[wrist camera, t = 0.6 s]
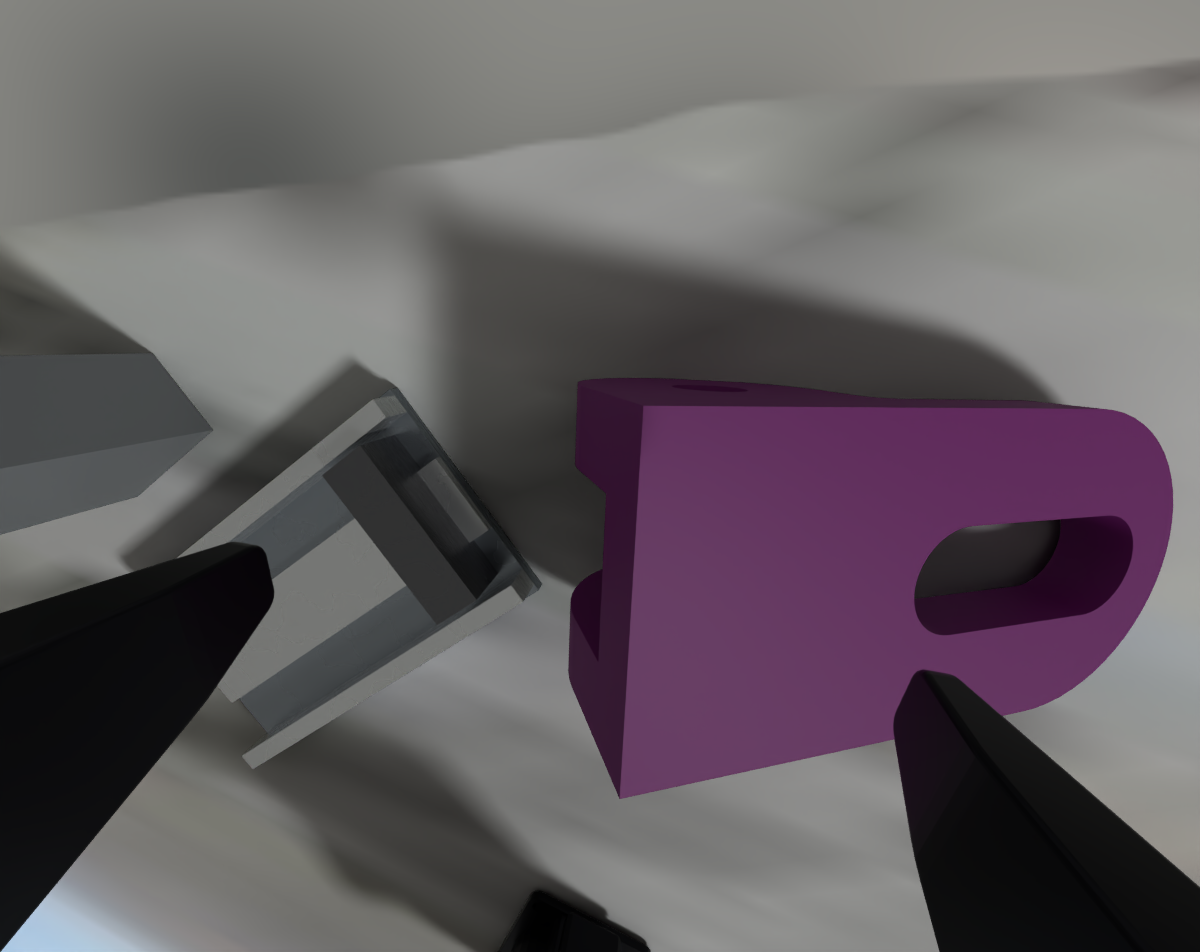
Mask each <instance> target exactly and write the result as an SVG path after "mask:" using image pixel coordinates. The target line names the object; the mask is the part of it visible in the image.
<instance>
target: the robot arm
mask: <svg viewBox="0 0 1200 952" xmlns="http://www.w3.org/2000/svg"><path fill="white" fill-rule="evenodd" d="M273 599H274V586H273V581H272V577H271V572H270V568H269V563H268V559H267V555H266V552H265V551H264V550H263V548H262V547H260V546H258V545H253V544H248V543H242V542H228V543H225V544H221V545H218V546H215V547H212V548H208V549H205V550H202V551H199V552H196V553H192V554H189V555H186V556H183V557H180V558H176V559H173V560H170V561H167V562H163V563H160V564H157V565H154V566H151V567H147V568H144V569H141V570H138V571H134V572H131V573H128V574H125V575H122V576H118V577H115V578H112V579H109V580H106V581H102V582H99V583H96V584H93V585H89V586H86V587H83V588H80V589H77V590H73V591H70V592H67V593H64V594H60V595H57V596H54V597H51V598H48V599H44V600H41V601H38V602H35V603H32V604H28V605H25V606H22V607H19V608H15V609H12V610H9V611H6V612H3V613H0V952H1V951H2V949H3V948H4V947H5V946H6V945H7V943H8V942H9V941H10V940H11V939H12V937H13V936H14V935H15V934H16V932H17V931H18V930H19V929H20V928H21V926H22V925H23V924H24V923H25V922H26V920H27V919H28V918H29V917H30V915H31V914H32V913H33V912H34V911H35V909H36V908H37V907H38V906H39V904H40V903H41V902H42V901H43V900H44V898H45V897H46V896H47V895H48V894H49V892H50V891H51V890H52V889H53V887H54V886H55V885H56V884H57V883H58V881H59V880H60V879H61V878H62V877H63V875H64V874H65V873H66V872H67V870H68V869H69V868H70V867H71V866H72V864H73V863H74V862H75V861H76V859H77V858H78V857H79V856H80V855H81V853H82V852H83V851H84V850H85V849H86V847H87V846H88V845H89V844H90V842H91V841H92V840H93V839H94V838H95V836H96V835H97V834H98V833H99V831H100V830H101V829H102V828H103V827H104V825H105V824H106V823H107V822H108V821H109V819H110V818H111V817H112V816H113V814H114V813H115V812H116V811H117V810H118V808H119V807H120V806H121V805H122V804H123V802H124V801H125V800H126V799H127V797H128V796H129V795H130V794H131V793H132V791H133V790H134V789H135V788H136V786H137V785H138V784H139V783H140V782H141V780H142V779H143V778H144V777H145V776H146V774H147V773H148V772H149V771H150V769H151V768H152V767H153V766H154V765H155V763H156V762H157V761H158V760H159V759H160V757H161V756H162V755H163V754H164V752H165V751H166V750H167V749H168V748H169V746H170V745H171V744H172V743H173V741H174V740H175V739H176V738H177V737H178V735H179V734H180V733H181V732H182V731H183V729H184V728H185V727H186V726H187V724H188V723H189V722H190V721H191V720H192V718H193V717H194V716H195V715H196V713H197V712H198V711H199V710H200V708H201V707H202V706H203V704H204V703H205V702H206V701H207V699H208V698H209V696H210V695H211V694H212V692H213V691H214V689H215V688H216V687H217V685H218V684H219V682H220V681H221V679H222V678H223V677H224V675H225V674H226V672H227V671H228V669H229V668H230V666H231V665H232V663H233V662H234V660H235V659H236V657H237V656H238V655H239V653H240V652H241V650H242V649H243V647H244V646H245V644H246V643H247V641H248V640H249V638H250V637H251V636H252V634H253V633H254V631H255V630H256V628H257V627H258V625H259V624H260V622H261V621H262V619H263V618H264V616H265V615H266V614H267V612H268V611H269V609H270V607H271V605H272V603H273ZM893 732H894V739H895V745H896V751H897V757H898V763H899V769H900V775H901V782H902V788H903V794H904V800H905V806H906V812H907V818H908V824H909V830H910V836H911V842H912V847H913V852H914V857H915V861H916V866H917V870H918V874H919V878H920V882H921V885H922V889H923V893H924V896H925V900H926V904H927V908H928V911H929V915H930V919H931V922H932V926H933V930H934V933H935V937H936V941H937V944H938V948H939V952H1200V887H1199V886H1198V885H1197V884H1196V883H1195V882H1193V881H1192V880H1191V879H1190V878H1189V877H1188V876H1186V875H1185V874H1184V873H1183V872H1182V871H1181V870H1179V869H1178V868H1177V867H1176V866H1175V865H1174V864H1173V863H1171V862H1170V861H1169V860H1168V859H1167V858H1166V857H1164V856H1163V855H1162V854H1161V853H1160V852H1159V851H1158V850H1156V849H1155V848H1154V847H1153V846H1152V845H1151V844H1149V843H1148V842H1147V841H1146V840H1145V839H1144V838H1143V837H1141V836H1140V835H1139V834H1138V833H1137V832H1136V831H1134V830H1133V829H1132V828H1131V827H1130V826H1129V825H1127V824H1126V823H1125V822H1124V821H1123V820H1122V819H1121V818H1119V817H1118V816H1117V815H1116V814H1115V813H1114V812H1112V811H1111V810H1110V809H1109V808H1108V807H1107V806H1106V805H1104V804H1103V803H1102V802H1101V801H1100V800H1099V799H1097V798H1096V797H1095V796H1094V795H1093V794H1092V793H1091V792H1089V791H1088V790H1087V789H1086V788H1085V787H1084V786H1082V785H1081V784H1080V783H1079V782H1078V781H1077V780H1075V779H1074V778H1073V777H1072V776H1071V775H1070V774H1069V773H1067V772H1066V771H1065V770H1064V769H1063V768H1062V767H1060V766H1059V765H1058V764H1057V763H1056V762H1055V761H1054V760H1052V759H1051V758H1050V757H1049V756H1048V755H1047V754H1045V753H1044V752H1043V751H1042V750H1041V749H1040V748H1039V747H1037V746H1036V745H1035V744H1034V743H1033V742H1032V741H1030V740H1029V739H1028V738H1027V737H1026V736H1025V735H1024V734H1022V733H1021V732H1020V731H1019V730H1018V729H1017V728H1015V727H1014V726H1013V725H1012V724H1011V723H1010V722H1008V721H1007V720H1006V719H1005V718H1004V717H1003V716H1002V715H1000V714H999V713H998V712H997V711H996V710H995V709H993V708H992V707H991V706H990V705H989V704H988V703H987V702H985V701H984V700H983V699H982V698H981V697H980V696H978V695H977V694H976V693H975V692H974V691H973V690H972V689H970V688H969V687H968V686H967V685H966V684H965V683H963V682H962V681H961V680H960V679H959V678H957V677H956V676H954V675H951V674H947V673H942V672H936V671H931V670H925V669H922V670H918V671H917V672H916V673H914V675H913V676H912V678H911V680H910V682H909V684H908V687H907V689H906V691H905V693H904V695H903V697H902V699H901V701H900V704H899V706H898V708H897V710H896V712H895V716H894V721H893ZM498 952H651V951H650V949H649V948H648V947H647V946H646V945H644V944H642V943H640V942H638V941H636V940H634V939H632V938H630V937H628V936H627V935H625V934H623V933H621V932H619V931H617V930H615V929H613V928H611V927H609V926H607V925H605V924H603V923H601V922H599V921H597V920H596V919H594V918H592V917H590V916H588V915H586V914H584V913H582V912H580V911H578V910H576V909H574V908H572V907H570V906H568V905H566V904H565V903H563V902H561V901H559V900H557V899H555V898H553V897H551V896H549V895H547V894H545V893H543V892H540V891H535V892H532V894H531V895H530V896H529V898H528V900H527V901H526V903H525V905H524V907H523V909H522V910H521V912H520V914H519V916H518V917H517V919H516V921H515V923H514V924H513V926H512V928H511V930H510V931H509V933H508V935H507V937H506V938H505V940H504V942H503V944H502V945H501V947H500V949H499V951H498Z"/></svg>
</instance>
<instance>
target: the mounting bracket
mask: <svg viewBox="0 0 1200 952" xmlns="http://www.w3.org/2000/svg"><path fill="white" fill-rule="evenodd" d="M575 465H576V467H577V468H578V469H579V470H580V471H581V472H582V473H583V474H584V475H585V476H586V477H588V478H589V479H590V480H591V481H592V482H593V483H595V484H596V485H597V486H598V487H599V488H600V489H601V490H603V491H604V492H605V493H606V508H605V529H604V551H603V569H602V570H599V571H597V572H595V573H593V574H591V575H590V576H588V577H587V578H585V579H584V580H583V581H581V582H580V583H579V584H578V586H577V587H576V588H575V590H574V592H573V593H572V597H571V606H570V637H569V668H568V672H569V679H570V682H571V685H572V688H573V690H574V693H575V695H576V697H577V700H578V702H579V705H580V707H581V709H582V712H583V714H584V716H585V719H586V721H587V723H588V726H589V728H590V730H591V733H592V735H593V737H594V740H595V742H596V744H597V747H598V749H599V751H600V754H601V756H602V759H603V761H604V763H605V766H606V768H607V770H608V773H609V775H610V777H611V780H612V782H613V784H614V787H615V789H616V791H617V794H618V796H619V798H620V799H622V798H626V797H631V796H635V795H640V794H645V793H649V792H654V791H658V790H663V789H668V788H672V787H677V786H681V785H686V784H691V783H695V782H700V781H704V780H709V779H714V778H718V777H723V776H727V775H732V774H737V773H741V772H746V771H750V770H755V769H760V768H764V767H769V766H773V765H778V764H783V763H787V762H792V761H796V760H801V759H806V758H810V757H815V756H819V755H824V754H829V753H833V752H838V751H842V750H847V749H852V748H856V747H861V746H865V745H870V744H875V743H879V742H884V741H888V740H893V739H894V732H893V721H894V716H895V712H896V710H897V708H898V706H899V704H900V701H901V699H902V697H903V695H904V693H905V691H906V689H907V687H908V684H909V682H910V680H911V678H912V676H913V675H914V673H916V672H917V671H918V670H922V669H925V670H931V671H936V672H942V673H947V674H951V675H954V676H956V677H957V678H959V679H960V680H961V681H962V682H963V683H965V684H966V685H967V686H968V687H969V688H970V689H972V690H973V691H974V692H975V693H976V694H977V695H978V696H980V697H981V698H982V699H983V700H984V701H985V702H987V703H988V704H989V705H990V706H991V707H992V708H993V709H995V710H996V711H997V712H998V713H999V714H1000V715H1002V716H1004V715H1008V714H1013V713H1017V712H1022V711H1026V710H1029V709H1033V708H1036V707H1039V706H1041V705H1044V704H1046V703H1049V702H1051V701H1052V700H1054V699H1056V698H1058V697H1060V696H1062V695H1063V694H1065V693H1067V692H1068V691H1070V690H1071V689H1073V688H1074V687H1075V686H1077V685H1078V684H1079V683H1081V682H1082V681H1083V680H1085V679H1086V678H1087V677H1088V676H1089V675H1090V674H1092V673H1093V672H1094V671H1095V670H1096V669H1097V668H1098V667H1099V666H1100V665H1101V664H1102V663H1103V662H1104V661H1105V660H1106V659H1107V658H1108V657H1109V655H1110V654H1111V653H1112V652H1113V651H1114V650H1115V649H1116V647H1117V646H1118V645H1119V644H1120V642H1121V641H1122V640H1123V638H1124V637H1125V636H1126V634H1127V633H1128V631H1129V630H1130V628H1131V627H1132V626H1133V624H1134V623H1135V621H1136V619H1137V618H1138V616H1139V614H1140V613H1141V611H1142V609H1143V607H1144V605H1145V603H1146V601H1147V600H1148V598H1149V596H1150V594H1151V591H1152V589H1153V587H1154V585H1155V582H1156V580H1157V577H1158V575H1159V572H1160V569H1161V567H1162V563H1163V560H1164V557H1165V553H1166V550H1167V546H1168V541H1169V537H1170V531H1171V524H1172V514H1173V488H1172V479H1171V474H1170V470H1169V465H1168V462H1167V459H1166V456H1165V454H1164V452H1163V450H1162V448H1161V446H1160V444H1159V442H1158V440H1157V439H1156V438H1155V436H1154V435H1153V433H1152V432H1151V431H1150V430H1149V429H1148V428H1147V427H1146V426H1145V425H1144V424H1142V423H1141V422H1140V421H1138V420H1137V419H1135V418H1134V417H1131V416H1129V415H1127V414H1125V413H1122V412H1118V411H1114V410H1107V409H1098V408H1089V407H1080V406H1071V405H1062V404H1053V403H1044V402H1035V401H1024V400H947V399H890V398H875V397H865V396H857V395H850V394H843V393H836V392H829V391H822V390H815V389H807V388H798V387H789V386H779V385H768V384H756V383H743V382H724V381H705V380H685V379H663V378H605V379H590V380H583V381H579V382H578V389H577V420H576V451H575ZM1057 519H1060V520H1061V531H1060V537H1059V541H1058V544H1057V547H1056V549H1055V552H1054V554H1053V556H1052V557H1051V559H1050V561H1049V562H1048V564H1047V565H1046V566H1045V568H1044V569H1043V570H1042V571H1041V572H1040V573H1039V574H1038V575H1037V576H1036V577H1034V578H1033V579H1032V580H1030V581H1028V582H1027V583H1025V584H1022V585H1019V586H1014V587H1006V588H998V589H990V590H982V591H973V592H965V593H957V594H949V595H941V596H933V597H925V598H917V599H914V593H915V586H916V582H917V579H918V576H919V573H920V571H921V568H922V566H923V564H924V563H925V561H926V559H927V558H928V556H929V555H930V553H931V552H932V551H933V549H934V548H935V547H936V546H937V545H938V544H939V543H940V542H941V541H942V540H943V539H945V538H946V537H947V536H949V535H950V534H952V533H953V532H955V531H957V530H959V529H962V528H965V527H969V526H979V525H992V524H1005V523H1018V522H1031V521H1044V520H1057Z"/></svg>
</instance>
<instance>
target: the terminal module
mask: <svg viewBox="0 0 1200 952" xmlns="http://www.w3.org/2000/svg"><path fill="white" fill-rule="evenodd" d="M211 431H213V429H212V428H211V427H210V426H209V424H208V423H207V422H206V421H205V419H204V418H203V417H202V415H201V414H200V413H199V412H198V410H197V409H196V408H195V407H194V405H193V404H192V403H191V401H190V400H189V399H188V398H187V396H186V395H185V394H184V393H183V391H182V390H181V389H180V387H179V386H178V385H177V384H176V382H175V381H174V380H173V379H172V377H171V376H170V375H169V373H168V372H167V371H166V370H165V368H164V367H163V366H162V365H161V363H160V362H159V361H158V359H157V358H156V357H155V356H154V354H153V353H131V354H73V355H14V356H0V535H1V534H5V533H8V532H12V531H16V530H19V529H23V528H26V527H30V526H33V525H37V524H41V523H44V522H48V521H51V520H55V519H59V518H62V517H66V516H69V515H73V514H77V513H80V512H84V511H87V510H91V509H95V508H98V507H102V506H105V505H109V504H113V503H116V502H120V501H123V500H127V499H130V498H134V497H138V496H139V495H140V494H141V493H142V492H143V491H144V490H145V489H147V488H148V487H149V486H150V485H151V484H152V483H153V482H155V481H156V480H157V479H158V478H159V477H160V476H161V475H163V474H164V473H165V472H166V471H167V470H168V469H169V468H170V467H172V466H173V465H174V464H175V463H176V462H177V461H178V460H180V459H181V458H182V457H183V456H184V455H185V454H186V453H188V452H189V451H190V450H191V449H192V448H193V447H194V446H195V445H197V444H198V443H199V442H200V441H201V440H202V439H203V438H205V437H206V436H207V435H208V434H209V433H210V432H211Z"/></svg>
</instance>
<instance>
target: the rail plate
mask: <svg viewBox="0 0 1200 952" xmlns="http://www.w3.org/2000/svg"><path fill="white" fill-rule="evenodd" d="M228 542H242V543H248V544H253V545H258V546H260V547H262V548H263V550H264V551H265V552H266V555H267V559H268V563H269V568H270V572H271V577H272V581H273V586H274V599H273V603H272V605H271V607H270V609H269V611H268V612H267V614H266V615H265V616H264V618H263V619H262V621H261V622H260V624H259V625H258V627H257V628H256V630H255V631H254V633H253V634H252V636H251V637H250V638H249V640H248V641H247V643H246V644H245V646H244V647H243V649H242V650H241V652H240V653H239V655H238V656H237V657H236V659H235V660H234V662H233V663H232V665H231V666H230V668H229V669H228V671H227V672H226V674H225V675H224V677H223V678H222V679H221V681H220V682H219V684H218V685H217V686H218V687H219V688H220V690H221V691H222V692H223V693H224V694H225V696H226V697H227V698H228V699H229V700H230V702H231V703H233V702H235V701H236V700H238V699H240V701H241V702H242V703H243V704H244V705H245V707H246V708H247V709H248V710H249V711H250V713H251V714H252V715H253V716H254V717H255V719H256V720H257V721H258V722H259V723H260V725H261V726H262V727H263V728H264V729H265V731H266V732H267V733H266V734H265V735H264V736H263V737H262V738H260V739H259V740H258V741H257V742H256V743H255V744H254V745H253V746H252V747H251V748H250V749H249V750H248V751H246V752H245V753H244V754H243V755H242V757H243V758H244V760H245V761H246V762H247V763H248V764H249V766H250V767H251V768H252V769H254V768H256V767H257V766H259V765H261V764H262V763H264V762H266V761H267V760H269V759H270V758H272V757H274V756H275V755H277V754H278V753H280V752H282V751H283V750H285V749H287V748H288V747H290V746H291V745H293V744H295V743H296V742H298V741H299V740H301V739H303V738H304V737H306V736H308V735H309V734H311V733H312V732H314V731H316V730H317V729H319V728H320V727H322V726H324V725H325V724H327V723H329V722H330V721H332V720H333V719H335V718H337V717H338V716H340V715H341V714H343V713H345V712H346V711H348V710H349V709H351V708H353V707H354V706H356V705H358V704H359V703H361V702H362V701H364V700H366V699H367V698H369V697H370V696H372V695H374V694H375V693H377V692H379V691H380V690H382V689H383V688H385V687H387V686H388V685H390V684H391V683H393V682H395V681H396V680H398V679H400V678H401V677H403V676H404V675H406V674H408V673H409V672H411V671H412V670H414V669H416V668H417V667H419V666H421V665H422V664H424V663H425V662H427V661H429V660H430V659H432V658H433V657H435V656H437V655H438V654H440V653H442V652H443V651H445V650H446V649H448V648H450V647H451V646H453V645H454V644H456V643H458V642H459V641H461V640H463V639H464V638H466V637H467V636H469V635H471V634H472V633H474V632H475V631H477V630H479V629H480V628H482V627H483V626H485V625H487V624H488V623H490V622H492V621H493V620H495V619H496V618H498V617H500V616H501V615H503V614H504V613H506V612H508V611H509V610H511V609H513V608H514V607H516V606H517V605H519V604H521V603H522V602H523V601H524V600H525V598H527V597H528V596H530V595H532V594H533V593H535V592H536V591H538V590H539V588H540V587H541V585H542V583H541V582H540V581H539V579H538V578H537V577H536V575H535V574H534V573H533V571H532V570H531V569H530V567H529V566H528V564H527V563H526V562H525V560H524V559H523V558H522V556H521V555H520V554H519V552H518V551H517V549H516V548H515V547H514V545H513V544H512V543H511V541H510V540H509V539H508V537H507V536H506V535H505V533H504V532H503V530H502V529H501V528H500V526H499V525H498V524H497V522H496V521H495V520H494V518H493V517H492V516H491V514H490V513H489V511H488V510H487V509H486V507H485V506H484V505H483V503H482V502H481V501H480V499H479V498H478V497H477V495H476V494H475V492H474V491H473V490H472V488H471V487H470V486H469V484H468V483H467V482H466V480H465V479H464V477H463V476H462V475H461V473H460V472H459V471H458V469H457V468H456V467H455V465H454V464H453V463H452V461H451V460H450V458H449V457H448V456H447V454H446V453H445V452H444V450H443V449H442V448H441V446H440V445H439V444H438V442H437V441H436V439H435V438H434V437H433V435H432V434H431V433H430V431H429V430H428V429H427V427H426V426H425V425H424V423H423V422H422V420H421V419H420V418H419V416H418V415H417V414H416V412H415V411H414V410H413V408H412V407H411V405H410V404H409V403H408V401H407V400H406V399H405V397H404V396H403V395H402V393H401V392H400V391H399V389H398V388H393V389H389V390H388V391H387V392H386V393H384V394H383V395H382V396H381V397H379V398H377V399H372V400H371V401H370V402H369V403H367V404H366V405H365V406H364V407H362V408H361V409H360V410H359V411H357V412H356V413H355V414H354V415H353V416H351V417H350V418H349V419H348V420H346V421H345V422H344V423H343V424H341V425H340V426H339V427H338V428H336V429H335V430H334V431H333V432H332V433H330V434H329V435H328V436H327V437H325V438H324V439H323V440H322V441H320V442H319V443H318V444H317V445H315V446H314V447H313V448H312V449H311V450H309V451H308V452H307V453H306V454H304V455H303V456H302V457H301V458H299V459H298V460H297V461H296V462H294V463H293V464H292V465H291V466H290V467H288V468H287V469H286V470H285V471H283V472H282V473H281V474H280V475H278V476H277V477H276V478H275V479H274V480H272V481H271V482H270V483H269V484H267V485H266V486H265V487H264V488H262V489H261V490H260V491H259V492H257V493H256V494H255V495H254V496H253V497H251V498H250V499H249V500H248V501H246V502H245V503H244V504H243V505H241V506H240V507H239V508H238V509H236V510H235V511H234V512H233V513H232V514H230V515H229V516H228V517H227V518H225V519H224V520H223V521H222V522H220V523H219V524H218V525H217V526H215V527H214V528H213V529H212V530H211V531H209V532H208V533H207V534H206V535H204V536H203V537H202V538H201V539H199V540H198V541H197V542H196V543H194V544H193V545H192V546H191V547H190V548H188V549H187V550H186V551H185V552H183V553H182V554H181V555H180V556H178V557H177V558H180V557H183V556H186V555H189V554H192V553H196V552H199V551H202V550H205V549H208V548H212V547H215V546H218V545H221V544H225V543H228Z"/></svg>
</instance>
